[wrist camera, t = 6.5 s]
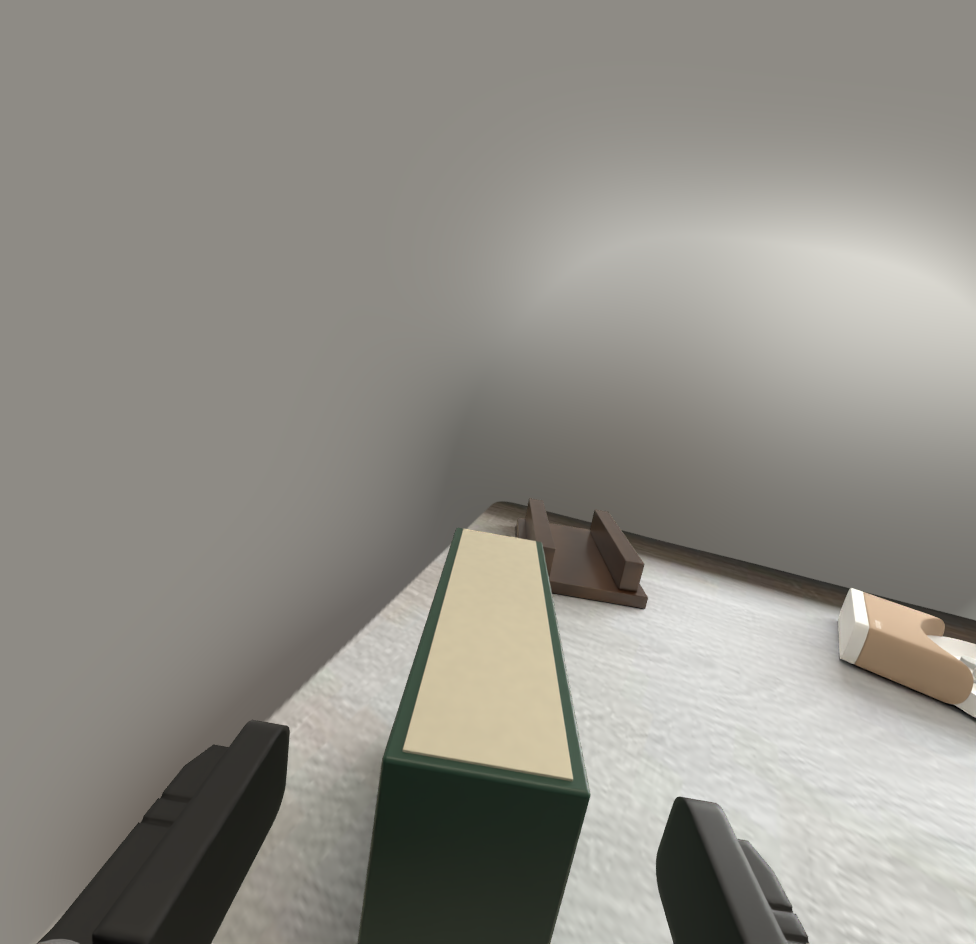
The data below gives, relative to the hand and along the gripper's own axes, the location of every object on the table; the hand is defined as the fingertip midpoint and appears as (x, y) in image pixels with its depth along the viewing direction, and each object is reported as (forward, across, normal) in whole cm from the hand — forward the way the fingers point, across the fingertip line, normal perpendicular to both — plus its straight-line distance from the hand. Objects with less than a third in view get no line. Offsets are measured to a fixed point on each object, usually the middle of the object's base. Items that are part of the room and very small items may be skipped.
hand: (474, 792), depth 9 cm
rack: (+32, -8, +8) cm, 34 cm away
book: (+4, 0, +8) cm, 9 cm away
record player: (+20, -37, +8) cm, 43 cm away
